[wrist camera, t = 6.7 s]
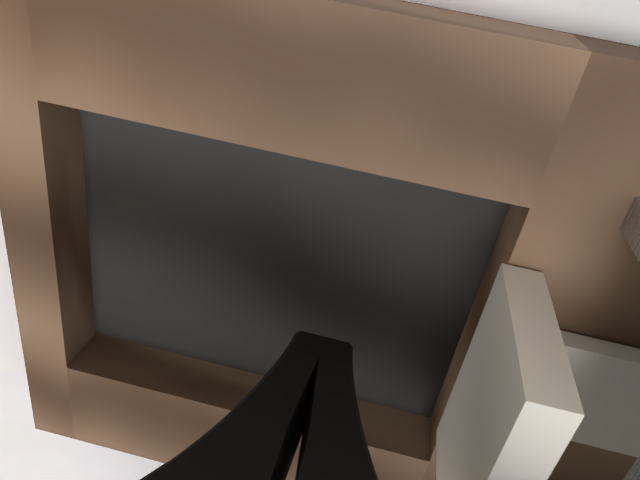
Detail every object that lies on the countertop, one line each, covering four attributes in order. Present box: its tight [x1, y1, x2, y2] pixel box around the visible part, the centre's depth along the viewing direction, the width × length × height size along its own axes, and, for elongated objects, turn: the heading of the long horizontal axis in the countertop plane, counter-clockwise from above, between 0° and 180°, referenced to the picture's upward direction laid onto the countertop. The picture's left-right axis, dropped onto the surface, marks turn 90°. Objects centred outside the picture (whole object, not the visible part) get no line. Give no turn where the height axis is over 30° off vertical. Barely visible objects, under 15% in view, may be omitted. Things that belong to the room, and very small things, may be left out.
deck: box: [0, 0, 640, 480], centre depth 16 cm, size 16×32×2 cm, turn 81°
